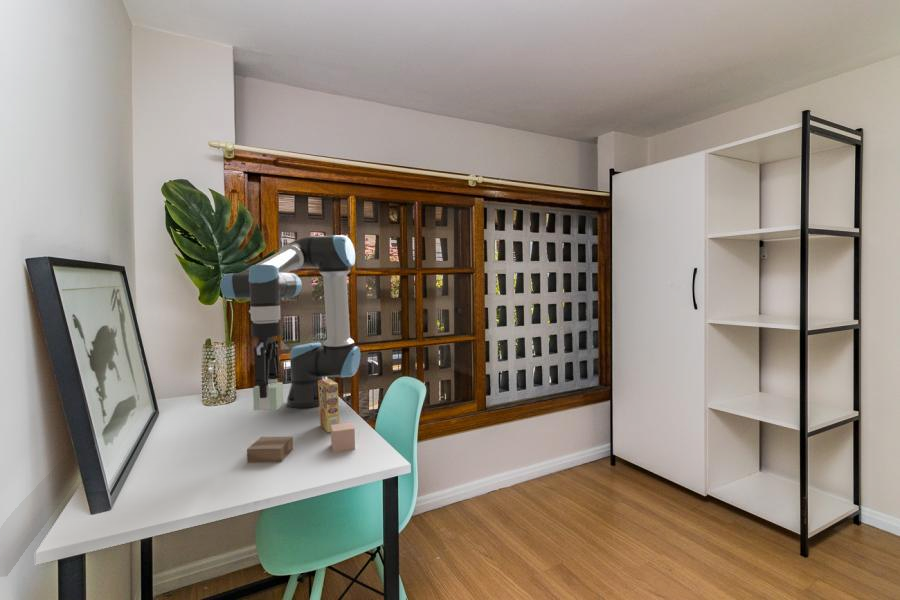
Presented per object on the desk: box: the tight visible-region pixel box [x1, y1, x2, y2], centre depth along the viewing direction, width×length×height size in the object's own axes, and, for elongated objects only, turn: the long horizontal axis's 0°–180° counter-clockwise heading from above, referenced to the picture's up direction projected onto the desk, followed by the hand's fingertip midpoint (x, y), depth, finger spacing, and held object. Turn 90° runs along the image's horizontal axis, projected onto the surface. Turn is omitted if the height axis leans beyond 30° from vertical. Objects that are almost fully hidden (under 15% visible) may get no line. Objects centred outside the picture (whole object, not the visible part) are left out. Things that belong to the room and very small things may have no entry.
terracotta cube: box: [330, 421, 356, 453], centre depth 128 cm, size 6×6×6 cm
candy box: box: [318, 378, 340, 433], centre depth 144 cm, size 9×4×15 cm, turn 33°
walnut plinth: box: [246, 436, 294, 464], centre depth 123 cm, size 9×9×4 cm
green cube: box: [252, 381, 284, 411], centre depth 122 cm, size 6×6×6 cm
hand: (269, 405), depth 122 cm, fingers closed on green cube, 6 cm apart
